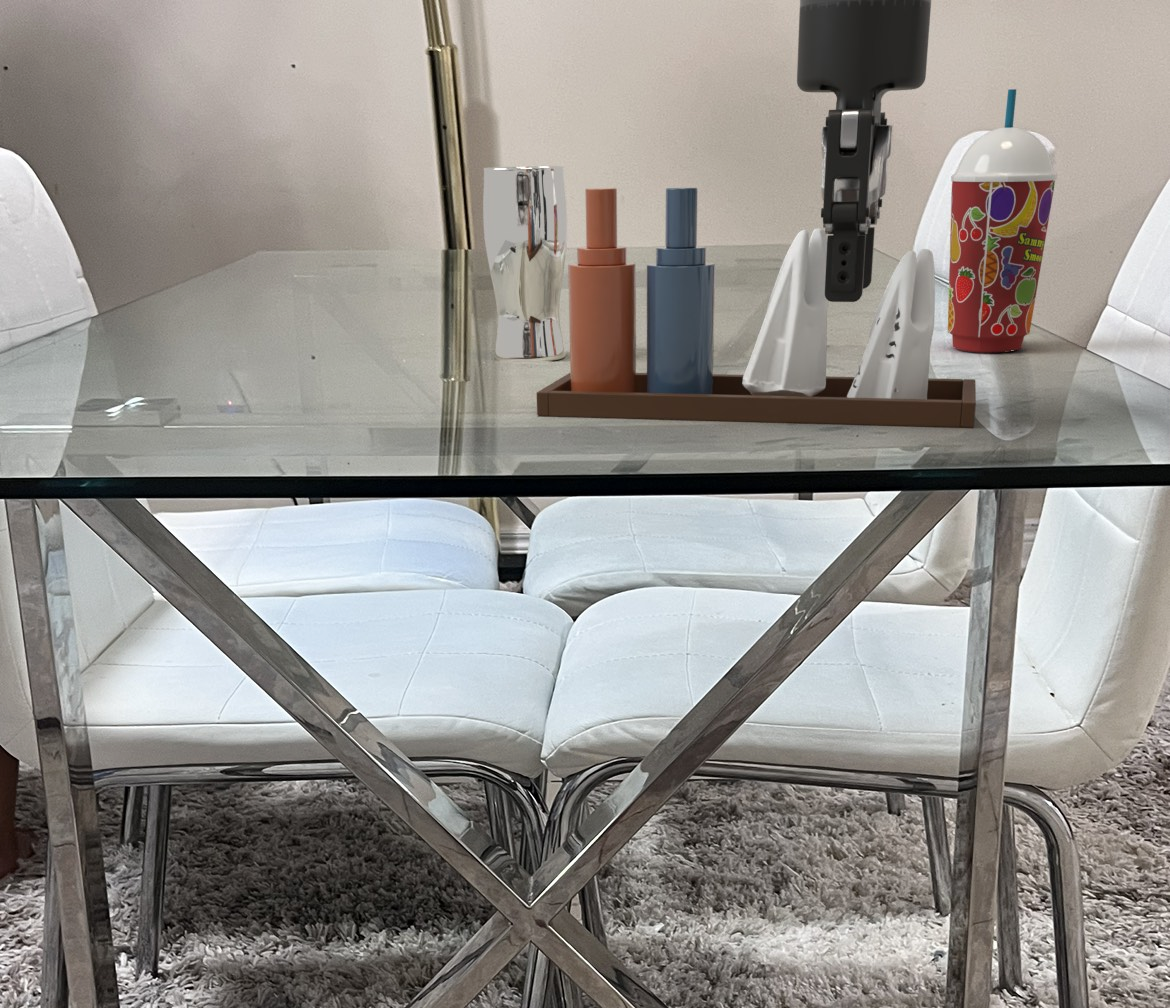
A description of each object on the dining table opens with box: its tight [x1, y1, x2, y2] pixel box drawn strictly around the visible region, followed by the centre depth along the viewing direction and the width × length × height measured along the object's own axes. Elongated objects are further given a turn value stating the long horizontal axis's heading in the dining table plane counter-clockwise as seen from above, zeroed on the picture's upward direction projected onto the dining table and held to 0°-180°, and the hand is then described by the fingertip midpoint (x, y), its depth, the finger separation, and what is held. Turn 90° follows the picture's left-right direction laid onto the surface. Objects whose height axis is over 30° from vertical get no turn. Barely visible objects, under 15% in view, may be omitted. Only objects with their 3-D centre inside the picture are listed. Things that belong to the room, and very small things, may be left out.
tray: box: [536, 372, 977, 429], centre depth 92 cm, size 28×9×2 cm, turn 76°
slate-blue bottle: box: [646, 186, 716, 394], centre depth 91 cm, size 4×4×14 cm
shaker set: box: [742, 227, 936, 399], centre depth 89 cm, size 12×4×11 cm, turn 83°
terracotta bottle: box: [567, 187, 637, 393], centre depth 92 cm, size 4×4×14 cm
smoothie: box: [947, 88, 1058, 354], centre depth 116 cm, size 8×8×20 cm
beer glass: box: [482, 165, 568, 362], centre depth 117 cm, size 7×7×15 cm
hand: (848, 294), depth 88 cm, fingers open, 8 cm apart
